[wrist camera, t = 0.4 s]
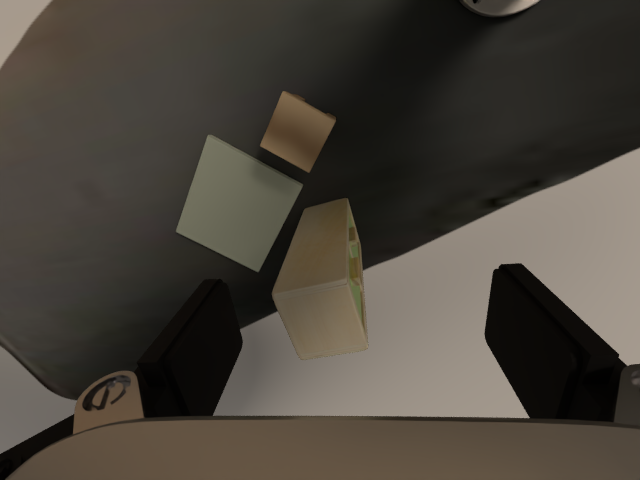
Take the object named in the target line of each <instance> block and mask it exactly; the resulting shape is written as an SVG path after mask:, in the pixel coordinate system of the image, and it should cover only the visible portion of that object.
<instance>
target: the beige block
mask: <svg viewBox="0 0 640 480" xmlns="http://www.w3.org/2000/svg"><path fill="white" fill-rule="evenodd" d="M272 297H273V300H274V303H275V305H276V308H277V310H278V312H279V314H280V317H281V319H282V321H283V323H284V325H285V328H286V330H287V332H288V334H289V337H290V339H291V341H292V343H293V346H294V348H295V350H296V352H297V355H298V356H299V358H300V359H301V360H307V359H313V358H321V357H327V356H333V355H340V354H346V353H353V352H359V351H363V350H366V349H368V337H367V325H366V311H365V298H364V286H363V270H362V256H361V245H360V240H359V237H358V233H357V230H356V226H355V222H354V219H353V215H352V212H351V208H350V204H349V201H348V198H343V199H338V200H335V201H331V202H327V203H323V204H319V205H316V206H312V207H308V208H305V209H304V211H303V213H302V216H301V219H300V221H299V224H298V226H297V229H296V231H295V234H294V236H293V239H292V242H291V245H290V247H289V250H288V252H287V255H286V257H285V260H284V262H283V265H282V268H281V270H280V273H279V275H278V278H277V280H276V283H275V285H274V288H273V291H272Z"/></svg>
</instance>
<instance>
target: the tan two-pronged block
mask: <svg viewBox="0 0 640 480" xmlns="http://www.w3.org/2000/svg"><path fill="white" fill-rule="evenodd" d="M305 100H306V99H304V98H302V97H300V96H299V95H297V94H290V93H289V92H287V91H283V92H282V94H281V97H280V99H279V102H278V104H277V106H276V109H275V111H274V114H273V116H272V118H271V121H270V123H269V126H268V128H267V130H266V133H265V135H264V137H263V140H262V142H261V145H260V146H261V147H263V148H265V149H266V150H268V151H270V152H272V153H274V154H276V155H277V156H279V157H281V158H283V159H285V160H286V161H288V162H290V163H292V164H294V165H296V166H297V167H299V168H301V169H303V170H305V171H307V172H308V173H309V172H310V170H311V169H312V167H313V165H314V163H315V161H316V159H317V157H318V155H319V153H320V151H321V149H322V147H323V145H324V143H325V141H326V139H327V137H328V136H329V134H330V132H331V130H332V128H333V126H334V124H335V122H336V118H337V117H335V116H333V115H331V114H330V113H327V114H325V113H323V112H321V111H320V110H318V109H316V108H314V107H313V106H311V105H309V104H307V103H306V102H305Z"/></svg>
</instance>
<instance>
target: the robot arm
mask: <svg viewBox="0 0 640 480" xmlns="http://www.w3.org/2000/svg"><path fill="white" fill-rule="evenodd" d="M459 1H460V2H461V3H462V5H464V6H465V7H466V8H468V9H469V10H470V11H472V12H474V13H476V14H479V15H481V16H487V17H505V16H509V15H512V14H516V13H518V12H521V11H523V10H525V9H527V8H529V7H531V6H533V5H534V4H536V3H538V2H539V1H540V0H476V3H475V4H474V3H473V0H459ZM485 339H486V342H487V344H488V346H489V348H490V349H491V351H492V353H493V355H494V357H495V358H496V360H497V362H498V363H499V365H500V367H501V369H502V370H503V372H504V374H505V376H506V377H507V379H508V381H509V383H510V384H511V386H512V388H513V390H514V391H515V393H516V395H517V397H518V398H519V400H520V402H521V403H522V405H523V407H524V409H525V410H526V412H527V414H528V416H529V417H530V418H484V417H401V416H400V417H399V416H395V417H394V416H393V417H392V416H213V413H214V411H215V409H216V406H217V404H218V402H219V400H220V397H221V395H222V393H223V390H224V388H225V386H226V383H227V381H228V379H229V376H230V374H231V372H232V369H233V367H234V365H235V362H236V360H237V358H238V356H239V353H240V351H241V348H242V343H243V341H242V336H241V332H240V328H239V325H238V321H237V318H236V314H235V310H234V307H233V303H232V299H231V296H230V292H229V288H228V285H227V283H225V282H224V283H223V281H222V280H221V279H208V280H204V281H203V282H202V283H201V284H200V285H199V287H198V288H197V289H196V290H195V292H194V293H193V294H192V295H191V297H190V298H189V299H188V300H187V301H186V303H185V304H184V305H183V306H182V308H181V309H180V310H179V311H178V313H177V314H176V315H175V316H174V317H173V319H172V320H171V321H170V322H169V324H168V325H167V326H166V327H165V329H164V330H163V331H162V332H161V333H160V335H159V336H158V337H157V338H156V340H155V341H154V342H153V343H152V345H151V346H150V347H149V348H148V349H147V351H146V352H145V353H144V354H143V356H142V357H141V358H140V359H139V361H138V362H137V364H138V366H139V367H138V368H137V369H136V370H135V372H134V373H133V372H131V371H119V372H115V373H112V374H109V375H107V376H105V377H103V378H101V379H99V380H98V381H96V382H95V383H93V384H92V385H91V386H89V387H88V388H87V389H86V390H85V391H84V392H83V393H82V394H81V396H80V397H79V399H78V400H77V403H76V406H75V414H73V415H72V416H70V417H68V418H66V419H64V420H62V421H60V422H59V423H57V424H55V425H53V426H51V427H49V428H48V429H46V430H44V431H42V432H40V433H38V434H37V435H35V436H33V437H31V438H29V439H27V440H25V441H24V442H22V443H20V444H18V445H16V446H14V447H13V448H11V449H9V450H7V451H5V452H3V453H1V454H0V480H640V364H634V365H629V366H627V365H626V364H625V363H623V362H622V361H621V360H620V359H619V358H618V357H619V354H618V353H617V352H616V351H615V350H614V349H612V348H611V347H610V346H609V345H608V344H607V343H606V342H605V341H604V340H603V339H602V338H601V337H600V336H599V335H597V334H596V333H595V332H594V331H593V330H592V329H591V328H590V327H589V326H588V325H587V324H586V323H584V321H583V320H581V319H580V318H579V317H578V316H577V315H576V314H575V313H574V312H573V311H572V310H571V309H570V308H569V307H568V306H566V305H565V304H564V303H563V302H562V301H561V300H560V299H559V298H558V297H557V296H556V295H555V294H553V292H551V291H550V290H549V289H548V288H547V287H546V286H545V285H544V284H543V283H542V282H541V281H540V280H539V279H537V278H536V277H535V276H534V275H533V274H532V273H531V272H530V271H529V270H528V269H527V268H526V267H525V266H524V265H522V264H519V263H518V264H501V265H500V266H499V269H495V270H494V271H493V276H492V284H491V291H490V298H489V305H488V312H487V319H486V327H485Z"/></svg>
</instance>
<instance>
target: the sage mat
mask: <svg viewBox="0 0 640 480" xmlns="http://www.w3.org/2000/svg"><path fill="white" fill-rule="evenodd" d="M302 187H303V184H301V183H300V182H298V181H296V180H294V179H292V178H290V177H288V176H287V175H285V174H283V173H281V172H279V171H277V170H276V169H274V168H272V167H270V166H268V165H266V164H264V163H263V162H261V161H259V160H257V159H255V158H253V157H252V156H250V155H248V154H246V153H244V152H242V151H240V150H239V149H237V148H235V147H233V146H231V145H229V144H228V143H226V142H224V141H222V140H220V139H218V138H217V137H215V136H213V135H208V137H207V140H206V143H205V146H204V149H203V152H202V155H201V158H200V161H199V164H198V167H197V170H196V173H195V176H194V179H193V182H192V185H191V188H190V191H189V194H188V197H187V200H186V203H185V206H184V209H183V212H182V215H181V218H180V221H179V224H178V227H177V230H176V232H177V233H179V234H181V235H183V236H185V237H187V238H189V239H191V240H193V241H195V242H198V243H200V244H202V245H204V246H206V247H208V248H210V249H212V250H214V251H216V252H218V253H220V254H222V255H224V256H226V257H228V258H230V259H232V260H234V261H236V262H238V263H240V264H242V265H244V266H246V267H248V268H250V269H252V270H254V271H256V272H259V270H260V268H261V266H262V264H263V263H264V261H265V259H266V257H267V255H268V253H269V251H270V249H271V247H272V245H273V243H274V241H275V239H276V237H277V235H278V233H279V232H280V230H281V228H282V226H283V224H284V222H285V220H286V218H287V216H288V214H289V212H290V210H291V208H292V206H293V204H294V202H295V201H296V199H297V197H298V195H299V193H300V191H301V189H302Z"/></svg>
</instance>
